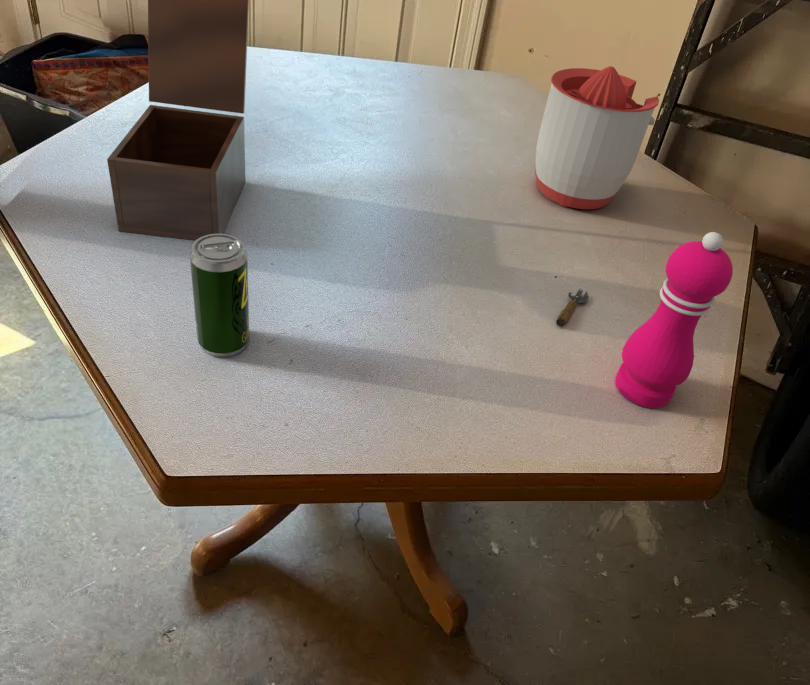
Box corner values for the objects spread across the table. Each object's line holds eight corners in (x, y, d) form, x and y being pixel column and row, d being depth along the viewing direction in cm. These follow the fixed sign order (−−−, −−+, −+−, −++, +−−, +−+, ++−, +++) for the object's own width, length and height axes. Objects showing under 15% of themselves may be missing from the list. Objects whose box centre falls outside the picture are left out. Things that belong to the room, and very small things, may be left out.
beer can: (199, 361, 72) (190, 264, 65) (196, 328, 76) (187, 233, 69) (252, 356, 74) (250, 261, 66) (246, 324, 78) (244, 231, 70)
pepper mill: (617, 407, 75) (689, 249, 62) (604, 362, 80) (668, 209, 68) (683, 415, 75) (768, 259, 62) (666, 370, 81) (741, 218, 68)
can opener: (562, 328, 84) (564, 321, 83) (545, 320, 85) (547, 312, 84) (592, 296, 90) (594, 289, 90) (575, 289, 91) (578, 281, 90)
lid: (248, -31, 88) (250, -30, 89) (147, -45, 88) (149, -44, 88) (243, 113, 95) (244, 113, 96) (148, 101, 94) (150, 101, 95)
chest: (219, 243, 89) (215, 172, 83) (118, 231, 88) (106, 159, 82) (245, 181, 102) (244, 116, 96) (157, 171, 101) (150, 104, 95)
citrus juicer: (649, 215, 109) (700, 88, 97) (551, 221, 104) (591, 87, 91) (599, 168, 120) (639, 48, 108) (508, 171, 115) (538, 45, 102)
